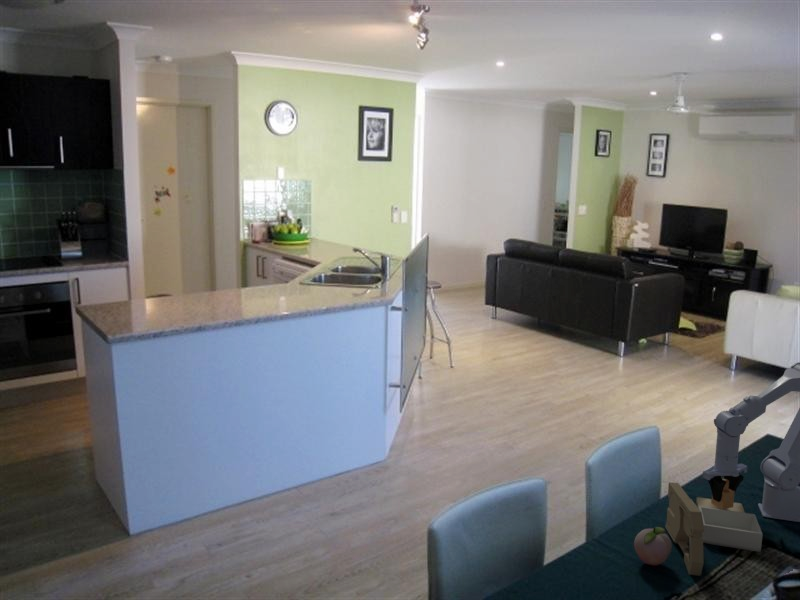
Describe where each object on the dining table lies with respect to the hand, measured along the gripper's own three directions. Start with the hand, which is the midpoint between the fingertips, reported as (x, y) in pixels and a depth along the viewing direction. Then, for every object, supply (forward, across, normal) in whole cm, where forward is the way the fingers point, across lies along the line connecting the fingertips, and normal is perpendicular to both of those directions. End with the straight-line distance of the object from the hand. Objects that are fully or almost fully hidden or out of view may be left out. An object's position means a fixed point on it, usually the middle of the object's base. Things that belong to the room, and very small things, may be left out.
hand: (722, 498), depth 187 cm
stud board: (+5, 0, 0) cm, 5 cm away
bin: (+5, -8, -10) cm, 14 cm away
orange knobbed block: (+2, 0, 0) cm, 2 cm away
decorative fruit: (+5, -37, -13) cm, 40 cm away
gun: (+5, -25, -11) cm, 27 cm away
